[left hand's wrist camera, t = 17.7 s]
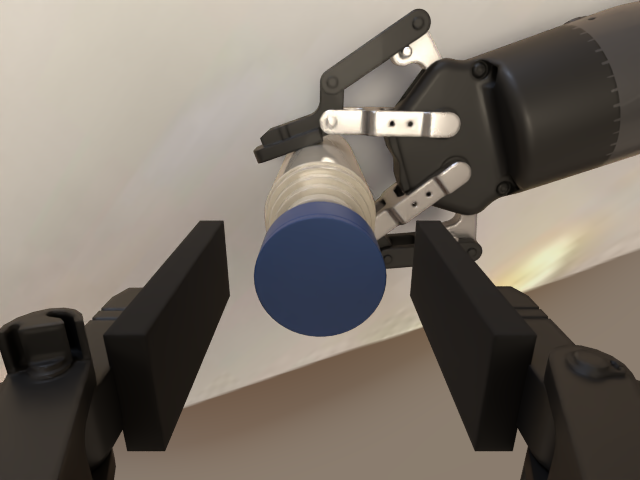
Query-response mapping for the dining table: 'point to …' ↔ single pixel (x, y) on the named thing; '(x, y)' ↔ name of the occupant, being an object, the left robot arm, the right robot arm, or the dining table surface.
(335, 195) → the bottle
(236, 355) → the dining table surface
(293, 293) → the cap
